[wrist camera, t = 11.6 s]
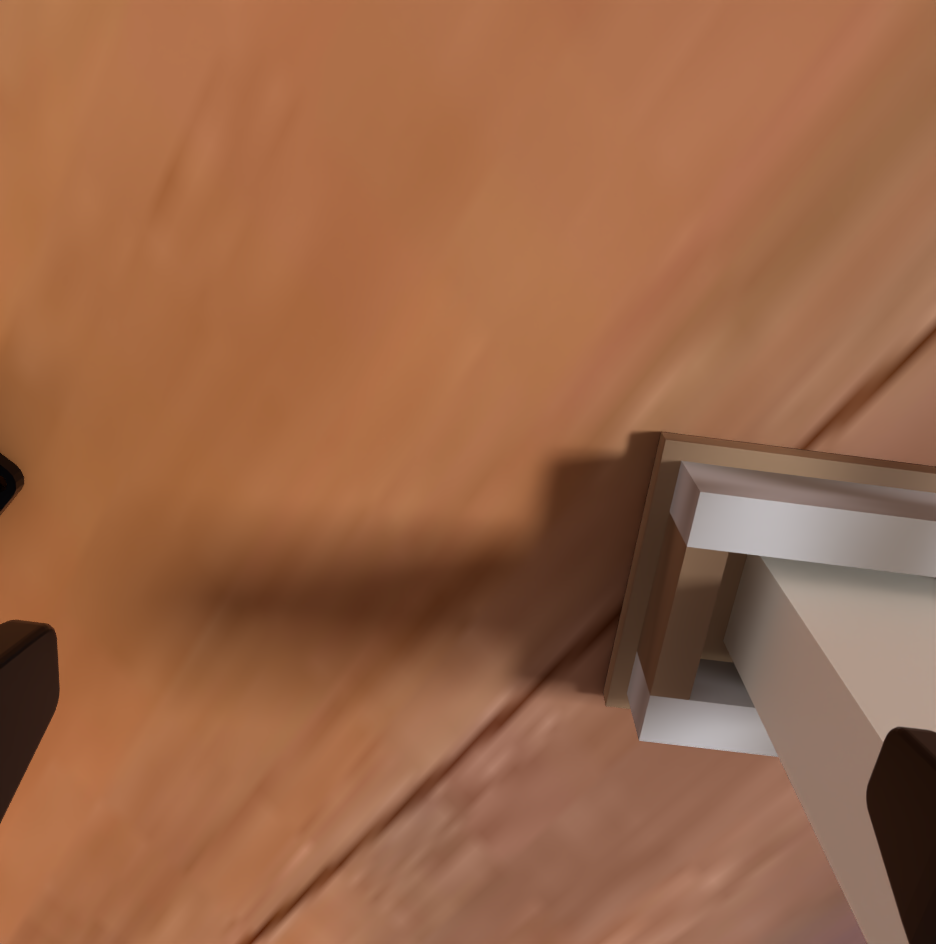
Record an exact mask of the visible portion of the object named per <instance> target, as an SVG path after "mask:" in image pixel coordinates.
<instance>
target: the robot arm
mask: <svg viewBox="0 0 936 944" xmlns="http://www.w3.org/2000/svg"><path fill="white" fill-rule="evenodd" d="M0 476H2V477H3V478H4V479H5V480H6V483H7V486H3V485H1V484H0V515H1V514H2V513H3V512H4V510H5V509H6V508H7V507H8V505H9V504H10V503H11V502H12V501H13V499H14V498H15V497H16V496H17V494H18V493H19V492H20V491H21V489H22V487H23V485H24V476H23V474H22V472H21V470H20V469H19V468H18V467H17V466H16V465H15V464H14V463H13V462H12V461H10V460H9V459H8V458H6V457H5V456H4V455H2V454H1V453H0ZM59 690H60V687H59V669H58V651H57V637H56V633H55V630H54V628H52V627H51V626H50V625H49V624H46V623H38V622H30V621H22V620H10V621H7V622H5V623H2V624H0V823H1V821H2V819H3V817H4V815H5V813H6V811H7V809H8V807H9V805H10V803H11V801H12V798H13V796H14V794H15V792H16V790H17V788H18V786H19V784H20V782H21V780H22V778H23V776H24V774H25V772H26V770H27V768H28V766H29V764H30V762H31V760H32V758H33V756H34V754H35V752H36V749H37V747H38V745H39V743H40V741H41V739H42V737H43V735H44V733H45V731H46V729H47V727H48V725H49V723H50V721H51V719H52V717H53V715H54V712H55V710H56V707H57V704H58V699H59ZM866 803H867V809H868V813H869V816H870V820H871V823H872V826H873V829H874V833H875V836H876V839H877V843H878V846H879V849H880V853H881V856H882V859H883V862H884V866H885V869H886V872H887V876H888V879H889V882H890V885H891V889H892V892H893V895H894V899H895V902H896V905H897V909H898V912H899V915H900V918H901V922H902V925H903V928H904V931H905V934H906V936H907V939H908V942H909V944H936V732H934V731H931V730H926V729H918V728H909V727H900V726H899V727H895V728H893V729H891V730H890V731H889V732H888V734H887V735H886V737H885V739H884V742H883V745H882V747H881V750H880V753H879V755H878V758H877V761H876V763H875V766H874V768H873V771H872V774H871V776H870V779H869V782H868V785H867V790H866Z"/></svg>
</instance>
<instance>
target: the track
mask: <svg viewBox="0 0 936 944" xmlns="http://www.w3.org/2000/svg"><path fill="white" fill-rule="evenodd" d="M747 554H750V555H758V556H766V557H774V558H783V559H791V560H799V561H807V562H815V563H823V564H831V565H839V566H847V567H855V568H863V569H871V570H880V571H888V572H896V573H904V574H912V575H920V576H928V577H935V578H936V467H933V466H925V465H917V464H910V463H902V462H894V461H886V460H878V459H870V458H863V457H855V456H847V455H839V454H831V453H823V452H816V451H808V450H800V449H792V448H784V447H776V446H769V445H761V444H753V443H745V442H737V441H729V440H722V439H714V438H706V437H698V436H690V435H682V434H675V433H667V432H661V435H660V440H659V444H658V449H657V453H656V458H655V462H654V467H653V471H652V476H651V480H650V485H649V489H648V494H647V498H646V503H645V507H644V512H643V516H642V521H641V525H640V529H639V534H638V538H637V543H636V547H635V552H634V556H633V561H632V565H631V570H630V574H629V579H628V583H627V588H626V592H625V597H624V601H623V606H622V610H621V615H620V619H619V624H618V628H617V633H616V637H615V642H614V646H613V651H612V655H611V660H610V664H609V669H608V673H607V678H606V682H605V687H604V691H603V695H604V700H605V705H606V706H609V707H618V708H626V709H631V712H632V715H633V719H634V723H635V727H636V731H637V735H638V739H639V741H647V742H656V743H664V744H673V745H681V746H690V747H698V748H707V749H716V750H724V751H733V752H741V753H750V754H759V755H767V756H776V757H778V755H777V753H776V750H775V748H774V746H773V744H772V742H771V740H770V738H769V736H768V734H767V732H766V730H765V727H764V725H763V723H762V721H761V719H760V717H759V715H758V713H757V711H756V709H755V706H754V704H753V702H752V700H751V698H750V696H749V694H748V692H747V690H746V688H745V685H744V683H743V681H742V679H741V677H740V675H739V673H738V671H737V669H736V667H735V664H734V662H733V660H732V658H731V656H730V654H729V652H728V650H727V648H726V646H725V643H724V641H723V640H724V636H725V633H726V629H727V626H728V622H729V619H730V615H731V611H732V608H733V604H734V601H735V597H736V594H737V590H738V586H739V583H740V579H741V576H742V572H743V569H744V565H745V561H746V558H747Z"/></svg>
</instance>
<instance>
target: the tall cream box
mask: <svg viewBox="0 0 936 944" xmlns="http://www.w3.org/2000/svg"><path fill="white" fill-rule="evenodd" d="M723 641H724V643H725V646H726V648H727V650H728V652H729V654H730V656H731V658H732V660H733V662H734V664H735V667H736V669H737V671H738V673H739V675H740V677H741V679H742V681H743V683H744V685H745V688H746V690H747V692H748V694H749V696H750V698H751V700H752V702H753V704H754V706H755V709H756V711H757V713H758V715H759V717H760V719H761V721H762V723H763V725H764V727H765V730H766V732H767V734H768V736H769V738H770V740H771V742H772V744H773V746H774V748H775V750H776V753H777V755H778V757H779V759H780V761H781V763H782V765H783V767H784V769H785V771H786V774H787V776H788V778H789V780H790V782H791V784H792V786H793V788H794V790H795V792H796V795H797V797H798V799H799V801H800V803H801V805H802V807H803V809H804V811H805V813H806V816H807V818H808V820H809V822H810V824H811V826H812V828H813V830H814V832H815V834H816V837H817V839H818V841H819V843H820V845H821V847H822V849H823V851H824V853H825V855H826V857H827V860H828V862H829V864H830V866H831V868H832V870H833V872H834V874H835V876H836V878H837V881H838V883H839V885H840V887H841V889H842V891H843V893H844V895H845V897H846V899H847V902H848V904H849V906H850V908H851V910H852V912H853V914H854V916H855V918H856V920H857V923H858V925H859V927H860V929H861V931H862V933H863V935H864V937H865V939H866V941H867V944H909V942H908V939H907V936H906V934H905V931H904V928H903V925H902V922H901V918H900V915H899V912H898V909H897V905H896V902H895V899H894V895H893V892H892V889H891V885H890V882H889V879H888V876H887V872H886V869H885V866H884V862H883V859H882V856H881V853H880V849H879V846H878V843H877V839H876V836H875V833H874V829H873V826H872V823H871V820H870V816H869V813H868V809H867V803H866V790H867V785H868V782H869V779H870V776H871V774H872V771H873V768H874V766H875V763H876V761H877V758H878V755H879V753H880V750H881V747H882V745H883V742H884V739H885V737H886V735H887V734H888V732H889V731H890V730H891V729H893V728H895V727H899V726H900V727H909V728H918V729H926V730H931V731H934V732H936V578H935V577H928V576H920V575H912V574H904V573H896V572H888V571H880V570H871V569H863V568H855V567H847V566H839V565H831V564H823V563H815V562H807V561H799V560H791V559H783V558H774V557H766V556H758V555H750V554H747V558H746V561H745V565H744V569H743V572H742V576H741V579H740V583H739V586H738V590H737V594H736V597H735V601H734V604H733V608H732V611H731V615H730V619H729V622H728V626H727V629H726V633H725V636H724V640H723Z"/></svg>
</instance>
